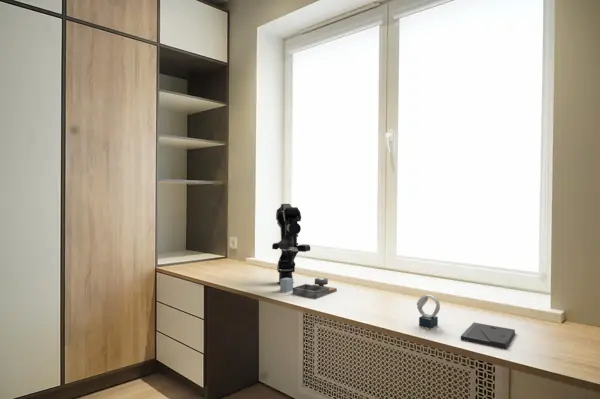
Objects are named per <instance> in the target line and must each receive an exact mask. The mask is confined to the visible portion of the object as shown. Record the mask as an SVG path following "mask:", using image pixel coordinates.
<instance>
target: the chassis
mask: <svg viewBox="0 0 600 399" xmlns="http://www.w3.org/2000/svg"><path fill="white" fill-rule="evenodd" d="M337 289H338V288H337V287H332V286H326V285H317V284H309V283H308V284H307V283H304V284H301V285H297V286H295V287H294V286H293V291H292V295H295V296H302V297H305V298H312V299H319V298H323V297H325V296H328V295H330V294H333V293H336V292H337Z"/></svg>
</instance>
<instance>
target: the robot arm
mask: <svg viewBox="0 0 600 399" xmlns="http://www.w3.org/2000/svg"><path fill="white" fill-rule="evenodd" d="M275 212H276V213H275V220H276V222H277V225H278V227H279V228H280V241H278V242H274V243H272V246H271V249H272V250H281V255H280V256H279V258H278V260H277V265H276V270H277V271H276V272H277V273H278V274H279V276H278V282H277V284H280V279H283V278H293V273H295V270H296V263H295V259H296V257H297V254H298V253H299V252H302V253H303V252H304V253H306V252H309V251H311V246H310V244H304V243H303V244H299V243H298V237H299V233H300V232H301V230H302V227H301V225H300V224H299V223H298V222H301V220H302V215H301V210H300V209H299V207H297V206H296V207H295V206H292V205H291V204H290V203H281V204H280V206H279V208H277V209H276V211H275ZM293 284H294V281H293Z"/></svg>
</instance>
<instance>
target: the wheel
mask: <svg viewBox="0 0 600 399" xmlns="http://www.w3.org/2000/svg"><path fill="white" fill-rule="evenodd" d="M328 283H329V280H328V278H324V277H317V278H314V285H324V286H326V285H328Z"/></svg>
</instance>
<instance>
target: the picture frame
mask: <svg viewBox="0 0 600 399" xmlns="http://www.w3.org/2000/svg"><path fill="white" fill-rule="evenodd" d="M515 334H516V329H513V328H509V327H501V326H498V325H497V326H496V325H492V324H491V325H490V324H485V323H478V322H475V321H474V322H472V324H470V326H469V327H468V328H466V329H465V331H464V332H463V333H462V334H461V335H460V341H463V342H470V343H475V344H479V345H483V346H489V347H492V348H493V347H494V348H498V349H502V350H503V349H504V350H506V349H508V346H509V344H510V343H511V341H512V339H513V338H514V336H515Z"/></svg>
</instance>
